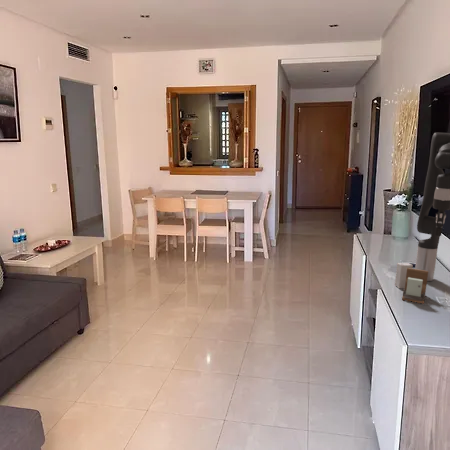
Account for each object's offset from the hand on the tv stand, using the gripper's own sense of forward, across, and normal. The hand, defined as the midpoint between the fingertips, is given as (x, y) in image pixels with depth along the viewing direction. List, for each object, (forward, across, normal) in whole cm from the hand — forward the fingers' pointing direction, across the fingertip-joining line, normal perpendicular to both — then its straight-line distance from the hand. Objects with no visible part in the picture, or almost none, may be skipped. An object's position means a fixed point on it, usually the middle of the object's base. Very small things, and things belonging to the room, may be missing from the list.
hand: (438, 233), depth 185 cm
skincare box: (+30, -6, -12) cm, 33 cm away
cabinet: (+30, +6, -6) cm, 31 cm away
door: (+29, +9, -7) cm, 31 cm away
